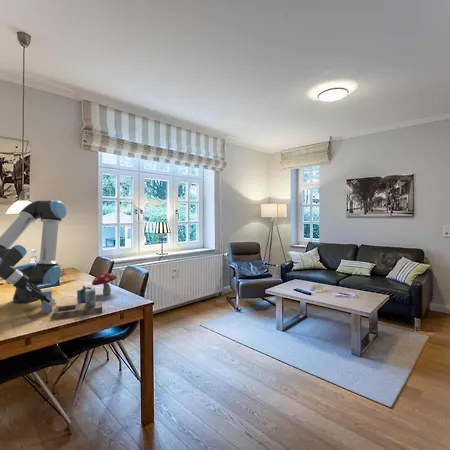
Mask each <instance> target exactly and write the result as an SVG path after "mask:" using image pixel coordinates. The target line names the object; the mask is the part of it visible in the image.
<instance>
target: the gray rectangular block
mask: <svg viewBox="0 0 450 450" xmlns="http://www.w3.org/2000/svg"><path fill="white" fill-rule="evenodd" d="M41 293H42V294H43V295H45V296H47V297H49V298H50V299H51V300H52V298H53V296H52V295H53V293H52V288H48V289H47V288H46V289H41ZM40 302H41V301H40ZM40 304H41V305H40V306H41V314H46V313H52V312H53V307H52V306H50V305H49V304H47V303H46V302H44V301H42V302H41V303H40Z"/></svg>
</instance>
